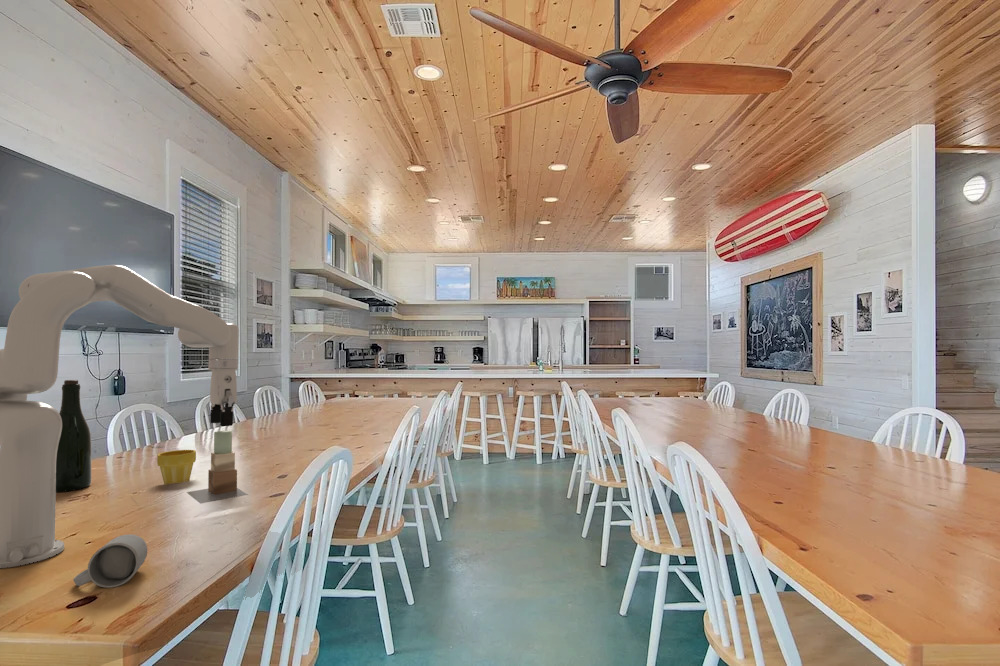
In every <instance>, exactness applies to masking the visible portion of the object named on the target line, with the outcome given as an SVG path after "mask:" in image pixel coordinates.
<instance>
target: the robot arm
mask: <svg viewBox="0 0 1000 666" xmlns="http://www.w3.org/2000/svg"><path fill="white" fill-rule="evenodd" d="M18 296H19V299H20V300H19V301H18V302H17V303H16V305H14V307H13V309H12V311H11V313H10V316H9V317H8V318H9V319H8V322H7V328H6V333H5V334H6V335H5V340H4V348H0V569H7V567H8V568H14V567H19V566H20V565H21V566H26V565H29V563H30V564H34V563H38V562H40V561H44V560H46V559H47V560H48V559H49V557H50V558H51V557H54V556H56V554H57V555H58V554H60V553H61V552H63V550H64V549H65V542H64V541H63V540H59V539H56V505H57V504H56V497H57V496H56V495H57V492H56V457H57V449H58V444H59V440H60V436H61V432H62V419H61V416H60V414H59V413H60V412H59V411H58V410H57V409H56V408H55V407H54V406H52V405H50V404H48V403H46V402H45V403H44V402H42V401H37V400H36V401H35V400H27V399H28V395H34V394H35V395H36V394H41V393H45V392H46V391H48V390H50V389H51V388H52V387H53V386H55V383H56V381H57V378H58V374H59V373H58V372H59V361H60V360H59V359H60V356H59V355H60V344H61V343H60V342H61V335H62V330H63V327H64V324H65V323H66V321H67V319H69V318H70V316H71V315H73V314H74V312H76V311H78V310H79V309H81V308H84V307H86V306H88V305H89V304H90V303H94V302H105V301H106V302H107V301H109V302H113V303H115V304H117V305H118V306H120V307H122V308H124V309H126V311H129V312H131V313H132V314H134V315H136V316H137V317H139V318H141V319H142V320H145V321H146V322H148V323H152V324H156V325H159V326H163V327H171V328H176V329H178V332H177V337H178V340H179V341H180V343H181V344H182V345H184V346H186V347H188V348H189V347H190V348H193V349H194V348H195V349H196V348H209V349H208V371H211V376H210V389H209V391H210V392H209V397H210V398H209V400H210V402H211V403H210V404H211V405H210V419H209V420H210V421H209V423H210V424H219V426H220V427H232V426H233V425H234V405H236V404H237V402H238V391H237V390H238V388H237V387H238V386H237V385H238V384H237V373H236V371H238V366H239V365H238V364H239V362H238V361H239V331H240V330H239V326H238V324H235V323H229V322H227V321H225V320H224V319H223V318H221V317H219V316H218V315H217V314H215V313H214V312H212V311H210V310H209V309H207V308H205V307H202V306H200V305H198V304H195V303H193V302H190V301H187V300H184V299H183V298H180V297H177V296H174V295H172V294H170V293H168V292H166V291H165V290H163V289H162V288H160V287H158V286H157V285H155V284H154V283H152V282H151V281H149V280H148V279H146V278H145V277H143V276H142V275H140V274H138V273H137V272H135V271H134V270H132V269H131V268H129V267H126V266H125V265H120V264H108V265H96V266H89V267H82V268H75V269H69V270H61V271H53V272H45V273H43V272H42V273H35V274H32V275H30V276H27V278H25V279H24V280H22V281H21V284H20V285H19V288H18ZM37 561H38V562H37ZM33 562H34V563H33ZM25 564H26V565H25Z"/></svg>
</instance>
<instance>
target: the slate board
mask: <svg viewBox="0 0 1000 666" xmlns="http://www.w3.org/2000/svg"><path fill="white" fill-rule="evenodd" d="M186 493H187V494H188V495H189V496H191V497H192V498H193V499H194V500H195V501H197V502H198V503H199V504H205V503H209V502H210V503H211V502H215V501H221V500H226V499H231V498H237V497H242V496H247V495H248V493H246V492H245V491H243V490H241V489H240V488H239V487H237V491H232V492H226V493H221V494H215V495H214V494H212V493H211V492H210V491H208V488H203V489H198V490H191V491H187V492H186Z"/></svg>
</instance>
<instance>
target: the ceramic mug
mask: <svg viewBox="0 0 1000 666" xmlns="http://www.w3.org/2000/svg"><path fill="white" fill-rule="evenodd" d="M147 555H148V545H147V542H146V541H145V540H144V538H143V537H141V536H139V535H137V534H132V533H131V534H130V533H129V534H123V535H119V536H116V537H115V538H113V539H111V540H110V541H109V542H107V543H106V544H104V545H103V546H101V547H100V548H99V549H98V550H96V551H95V553H93V555H92V556H91V557H90V559H89V561H88V564H87V569H84V570H83V571H82V572H80V573H78V574H77V575H76V576H75V577H74V578H73V583H74V584H75V586H76V587H80V586H83V585H85V584H87V583H89V582H92V584H94V585H96V586H98V587H100V588H107V589H108V588H109V589H112V588H116V587H121V586H122V585H124V584H126V583H128V582H129V581H130V580H131V579H133V577H134V576H135V574H136V573H137V572H138V570H140V568H141V566H143V564H144V562H145V560H146V558H147Z"/></svg>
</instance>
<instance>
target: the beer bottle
mask: <svg viewBox="0 0 1000 666" xmlns="http://www.w3.org/2000/svg"><path fill="white" fill-rule="evenodd" d="M61 386H62V387H61V405H60V410H59V412H58V413H59V414H60V416H61V419H62V432H61V436H60V440H59V444H58V449H57V457H56V493H62V491H64V492H71V490H72V491H76V490H82V489H84V488H87V487H89V486H90V485H91V484H92V438H91V437H92V435H91V431H90V427H89V424H88V423H87V420H86V419H85V416H84V414H83V411H82V407H81V394H80V393H81V385H80V383H79V380H78V379H67V380H64V381H63V384H62V385H61Z"/></svg>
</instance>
